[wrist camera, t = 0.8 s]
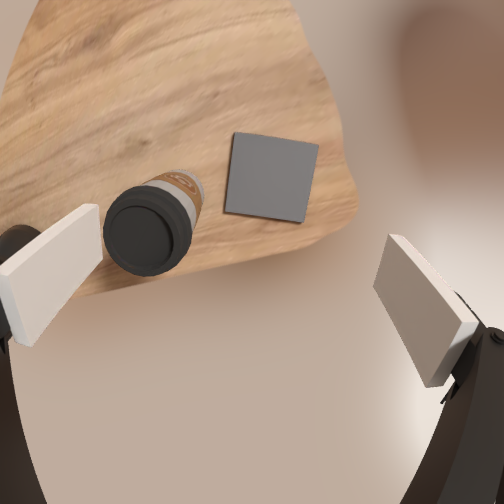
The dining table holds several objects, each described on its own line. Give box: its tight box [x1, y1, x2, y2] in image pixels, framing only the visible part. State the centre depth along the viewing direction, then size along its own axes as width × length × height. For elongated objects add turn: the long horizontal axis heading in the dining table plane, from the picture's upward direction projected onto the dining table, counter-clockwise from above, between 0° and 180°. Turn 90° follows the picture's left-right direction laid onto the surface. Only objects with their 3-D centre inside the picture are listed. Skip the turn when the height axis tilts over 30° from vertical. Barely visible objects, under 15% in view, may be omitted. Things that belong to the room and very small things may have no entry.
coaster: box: [225, 132, 319, 223], centre depth 38 cm, size 10×10×1 cm
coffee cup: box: [103, 169, 204, 277], centre depth 33 cm, size 8×8×15 cm
